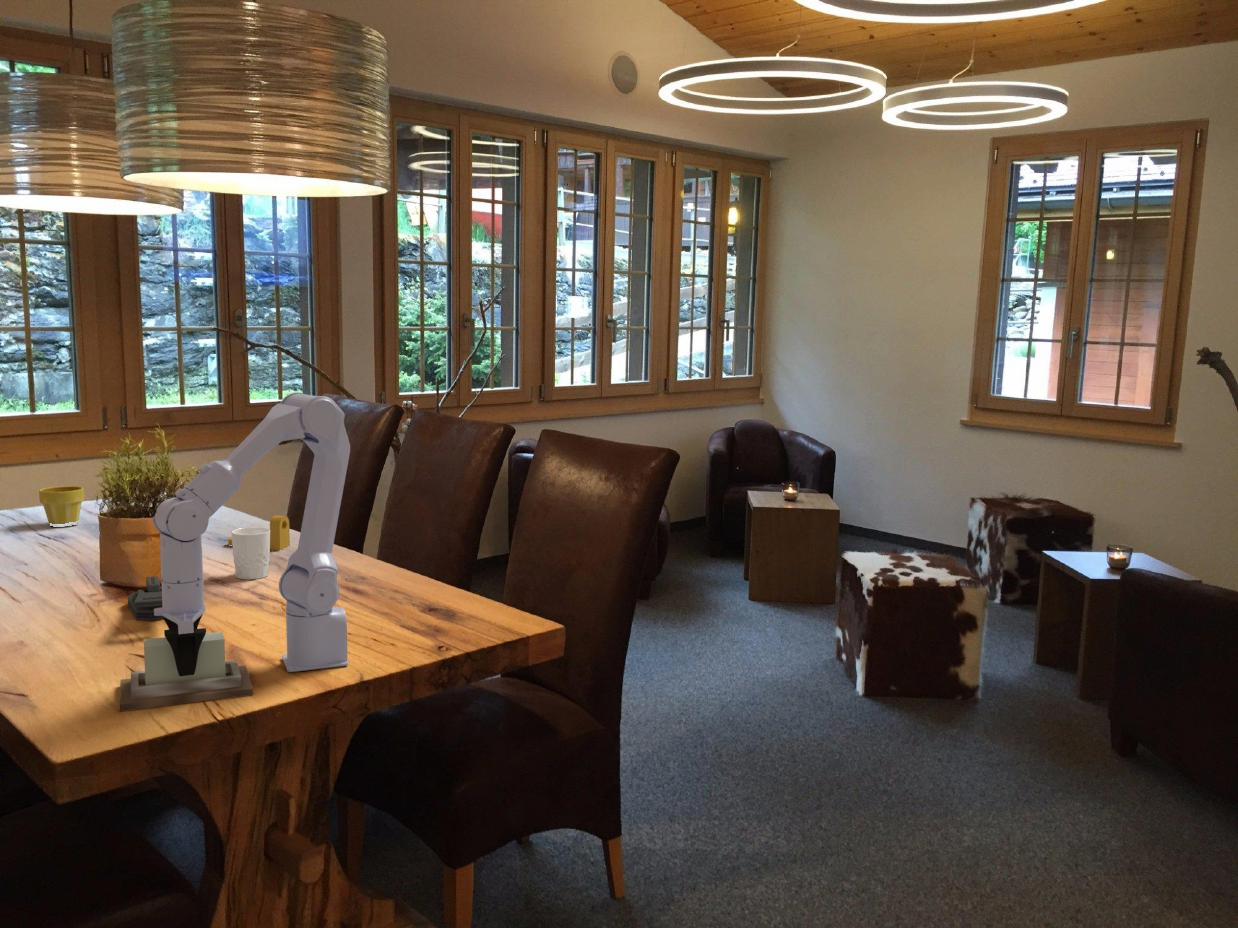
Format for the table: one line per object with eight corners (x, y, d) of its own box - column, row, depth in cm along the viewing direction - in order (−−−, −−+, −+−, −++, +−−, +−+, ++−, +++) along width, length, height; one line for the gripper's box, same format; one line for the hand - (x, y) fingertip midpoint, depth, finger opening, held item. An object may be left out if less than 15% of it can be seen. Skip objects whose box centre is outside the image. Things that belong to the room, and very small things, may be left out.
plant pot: (34, 525, 268) (32, 488, 267) (75, 519, 276) (73, 484, 275) (50, 531, 262) (48, 493, 260) (92, 525, 270) (90, 488, 268)
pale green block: (223, 675, 159) (222, 631, 158) (225, 683, 155) (224, 639, 154) (145, 684, 154) (143, 639, 153) (145, 693, 150) (143, 647, 149)
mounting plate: (246, 671, 163) (245, 656, 163) (253, 694, 154) (252, 678, 153) (120, 686, 156) (120, 670, 155) (119, 711, 146) (119, 694, 146)
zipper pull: (130, 602, 177) (126, 570, 199) (131, 639, 178) (127, 603, 200) (185, 597, 181) (176, 566, 203) (187, 633, 182) (177, 598, 204)
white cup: (279, 574, 224) (278, 529, 223) (251, 582, 217) (249, 536, 216) (253, 569, 228) (251, 525, 226) (224, 577, 221) (223, 531, 219)
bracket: (289, 547, 250) (289, 514, 249) (280, 551, 246) (279, 517, 245) (235, 543, 254) (234, 510, 252) (224, 547, 249) (223, 513, 248)
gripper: (152, 569, 157) (155, 655, 159) (153, 593, 144) (157, 686, 146) (201, 566, 160) (204, 649, 162) (207, 588, 147) (210, 679, 149)
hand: (185, 666), depth 154 cm, fingers open, 7 cm apart
